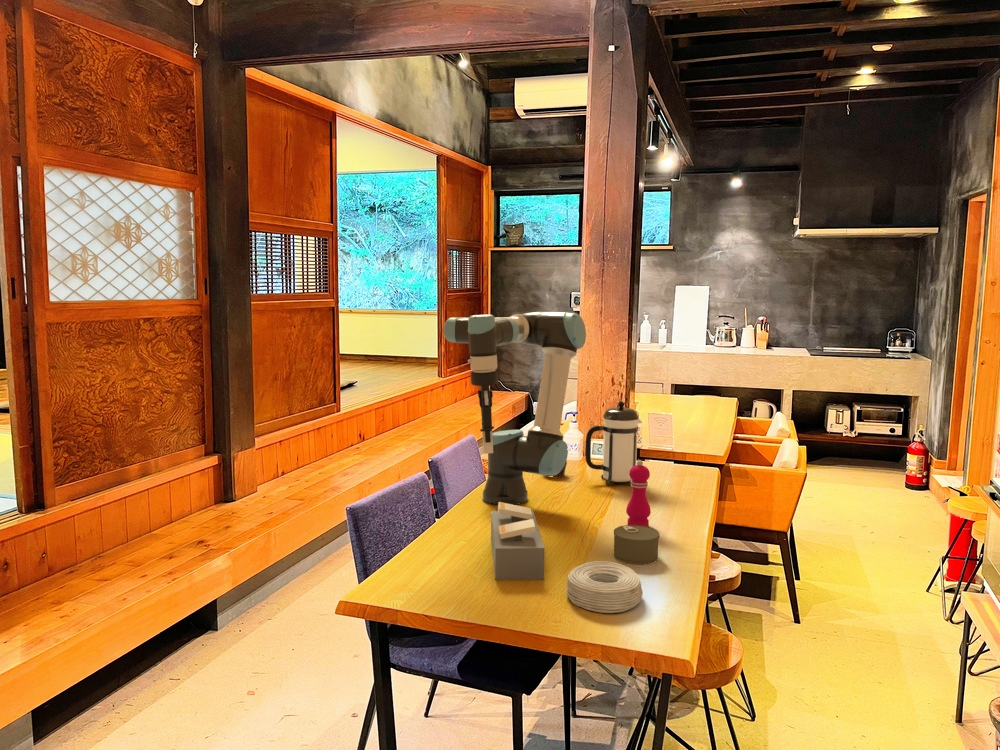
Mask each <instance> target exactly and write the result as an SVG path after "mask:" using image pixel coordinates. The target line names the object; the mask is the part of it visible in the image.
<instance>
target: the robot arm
mask: <svg viewBox="0 0 1000 750" xmlns="http://www.w3.org/2000/svg"><path fill="white" fill-rule="evenodd" d="M586 332H587V331H586V325H585V323H584V319H583V318H582V316H580V314H578V313H576V312H568V311H563V312H562V311H558V312H557V311H556V312H555V311H532V312H526V313H517V314H516V313H515V314H512V315H510V316H508V317H495V316H494V315H493V314H487V313H486V314H474V315H470V316H469V317H458V316H456V317H449V318H447V320H446V321H445V322H444V325H443V336H444V338H445V340H447V342H449V343H454V344H468V347H469V359H467V363H469V364H470V370H471V372H470V384H471V385H472V386H475V387H479V388H480V390H477V397H478V403H479V407H480V411H481V413H480V414H481V415H480V416H481V428H480V429H479V432H480V433H481V432H482V433H481V434H482V449H483V451H482V452H483V454H484V455H485V454H487V472H488V473H487V479H486V482H485V484H484V485H485V486H484V489H483V491H482V500H483V501H484V502H485V503H488V502H489V503H488V504H491V503H493V505H497V504H498V503H499V502H502V503H507V504H515V505H519V504H518V503H520V504H523V503H525V502H527V501H528V499H529V497H528V495H529V493H528V489H527V487H526V483H525V480H524V475H523V474H524V473H531V474H536V475H539V476H540V475H541V476H544V475H550V476H554V475H556V474H558V473H559V472H560V471H561V470H562V469H563V467H564V465H565V463H566V461H568V460H567V459H568V455H569V450H568V449H569V448H568V444H567V442H566V441H565V440H564V434H563V433H562V432H561V424H562V416H563V411H564V405H565V399H566V392H567V385H568V381H569V372H570V368H571V367H570V365H571V360H572V359H573V358H574V357H576V356H577V352H578V350H580V349H582V348H583V347H584V345H585V343H586V336H587V333H586ZM512 343H513V344H524V345H530V346H535V347H536V346H537V347H541V352H543V354H544V361H543V367H542V372H541V379H540V386H539V391H538V398H537V404H536V409H535V417H534V423H533V426H532V427H531V428H529V429H528V430H527V436H526V435H524V431H523V430H521V429H507V430H499V431H495V432H493V429H495V427H494V426H493V423H492V422H493V421H492V419H493V418H492V407H493V397H494V395H493V390H492V389H490V386H494V385H497V384H498V383H499V377H498V371H497V369H498V356H497V347H501V346H505V345H507V346H508V345H510V344H512ZM526 500H527V501H526ZM522 502H523V503H522Z"/></svg>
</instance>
